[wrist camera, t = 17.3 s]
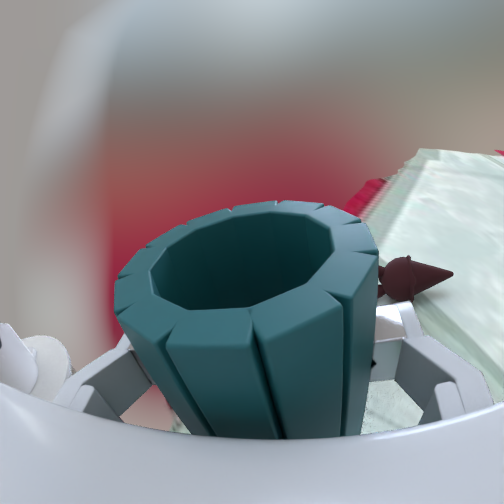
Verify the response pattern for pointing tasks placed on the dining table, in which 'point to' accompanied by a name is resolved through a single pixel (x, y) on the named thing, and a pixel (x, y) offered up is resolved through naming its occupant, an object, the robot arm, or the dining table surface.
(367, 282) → the teal ribbed hollow cylinder
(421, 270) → the icecream
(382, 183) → the dining table surface
